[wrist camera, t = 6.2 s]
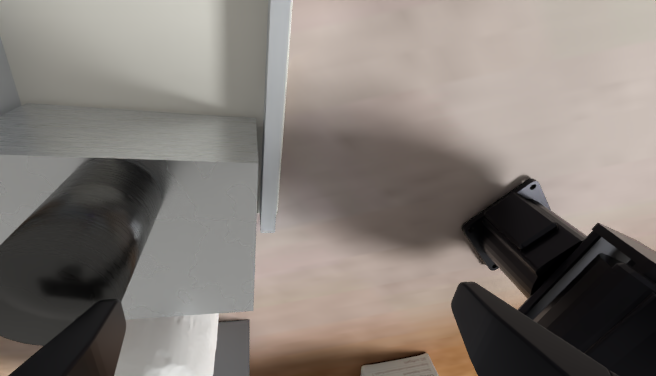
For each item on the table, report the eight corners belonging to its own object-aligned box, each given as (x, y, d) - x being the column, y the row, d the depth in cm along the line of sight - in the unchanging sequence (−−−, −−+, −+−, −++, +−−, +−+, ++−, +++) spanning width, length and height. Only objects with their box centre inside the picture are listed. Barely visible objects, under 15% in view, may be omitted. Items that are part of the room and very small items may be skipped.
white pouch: (72, 551, 14) (-1, 502, 11) (146, 320, 24) (117, 264, 22) (215, 511, 15) (181, 456, 12) (229, 304, 25) (212, 247, 22)
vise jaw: (26, 103, 15) (-309, 263, 6) (255, 118, 17) (263, 248, 8) (69, 244, 19) (-97, 473, 10) (252, 240, 21) (254, 421, 12)
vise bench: (-120, -302, 10) (-871, -911, 3) (302, -181, 13) (358, -368, 6) (95, 367, 26) (40, 500, 19) (266, 350, 29) (271, 459, 22)
